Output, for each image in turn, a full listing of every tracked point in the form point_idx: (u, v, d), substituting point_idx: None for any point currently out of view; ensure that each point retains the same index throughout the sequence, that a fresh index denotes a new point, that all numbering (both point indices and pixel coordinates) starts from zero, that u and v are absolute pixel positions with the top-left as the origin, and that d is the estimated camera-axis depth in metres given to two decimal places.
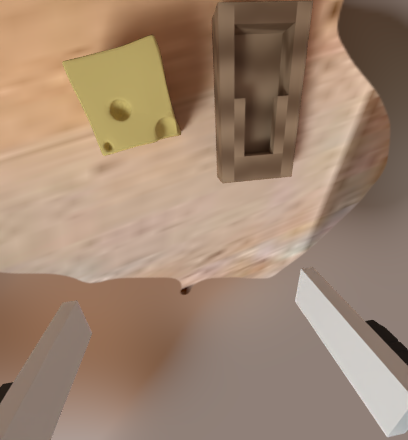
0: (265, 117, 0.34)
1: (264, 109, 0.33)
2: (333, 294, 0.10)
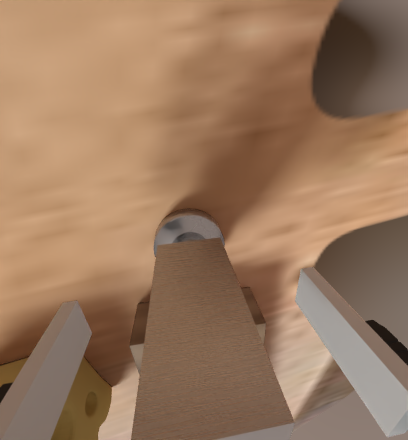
0: None
1: None
2: (333, 294, 0.10)
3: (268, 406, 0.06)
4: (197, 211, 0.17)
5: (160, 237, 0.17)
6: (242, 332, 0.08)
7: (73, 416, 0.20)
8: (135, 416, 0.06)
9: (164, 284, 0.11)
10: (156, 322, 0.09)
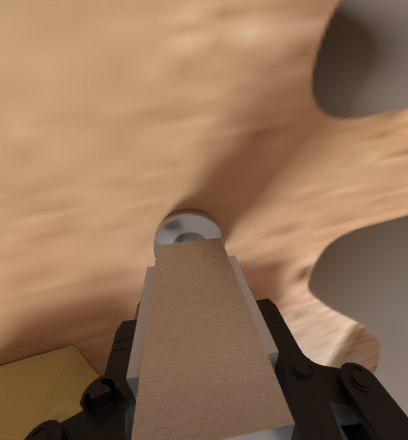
0: None
1: None
2: (240, 277, 0.12)
3: (268, 407, 0.06)
4: (197, 211, 0.17)
5: (160, 237, 0.17)
6: (242, 333, 0.08)
7: None
8: (135, 417, 0.06)
9: (164, 284, 0.11)
10: (156, 322, 0.09)
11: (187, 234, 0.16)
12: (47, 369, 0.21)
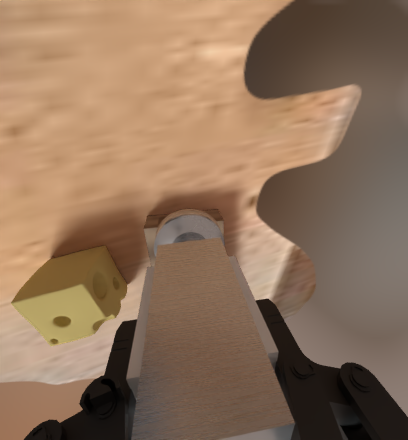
0: None
1: None
2: (240, 277, 0.12)
3: (268, 407, 0.06)
4: (197, 211, 0.17)
5: (160, 237, 0.17)
6: (242, 332, 0.08)
7: (107, 281, 0.33)
8: (136, 417, 0.06)
9: (164, 284, 0.11)
10: (156, 322, 0.09)
11: (187, 234, 0.16)
12: (90, 254, 0.33)
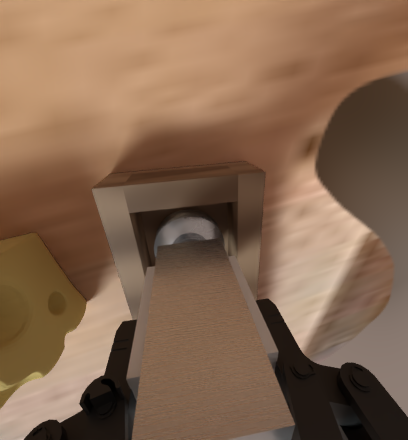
0: None
1: None
2: (240, 277, 0.12)
3: (268, 408, 0.06)
4: (197, 212, 0.17)
5: (160, 238, 0.17)
6: (243, 334, 0.08)
7: (29, 302, 0.17)
8: (136, 418, 0.06)
9: (164, 285, 0.11)
10: (156, 323, 0.09)
11: (187, 234, 0.16)
12: None
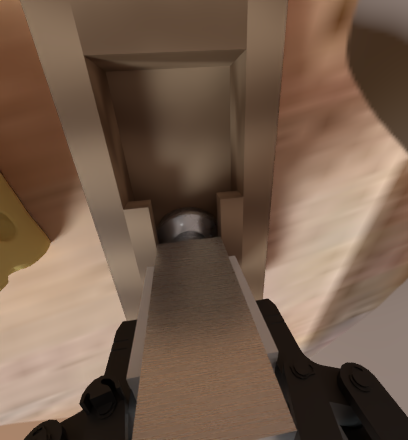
0: None
1: (207, 203, 0.18)
2: (240, 277, 0.12)
3: (270, 413, 0.06)
4: (197, 209, 0.17)
5: (160, 236, 0.16)
6: (243, 336, 0.08)
7: None
8: (135, 423, 0.06)
9: (164, 285, 0.10)
10: (156, 325, 0.09)
11: (187, 233, 0.16)
12: None
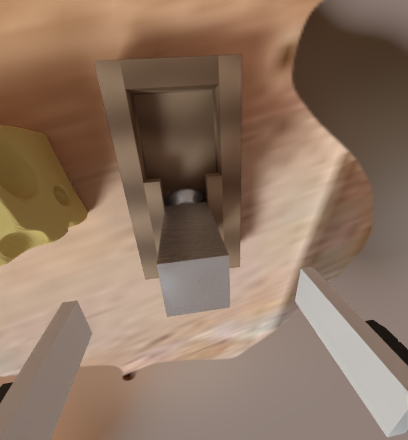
0: None
1: (199, 183, 0.25)
2: (333, 294, 0.10)
3: (218, 252, 0.13)
4: (192, 188, 0.24)
5: (166, 205, 0.24)
6: (212, 235, 0.15)
7: (38, 179, 0.19)
8: (158, 256, 0.13)
9: (170, 221, 0.18)
10: (166, 233, 0.16)
11: (185, 202, 0.24)
12: None
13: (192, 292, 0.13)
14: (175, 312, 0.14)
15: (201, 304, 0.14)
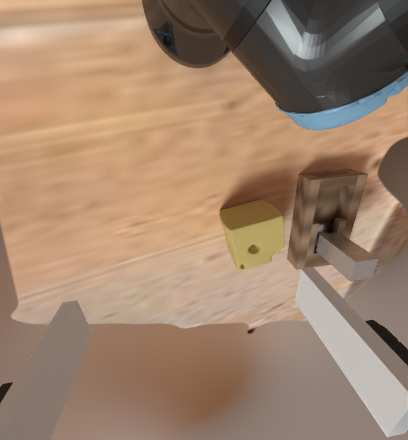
0: (326, 224, 0.49)
1: (325, 220, 0.49)
2: (333, 294, 0.10)
3: (373, 257, 0.37)
4: (323, 223, 0.48)
5: None
6: (362, 250, 0.39)
7: None
8: (352, 259, 0.37)
9: (335, 243, 0.42)
10: (341, 249, 0.40)
11: (322, 231, 0.47)
12: (257, 204, 0.43)
13: (361, 272, 0.37)
14: (353, 279, 0.38)
15: (362, 276, 0.38)
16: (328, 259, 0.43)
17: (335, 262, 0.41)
